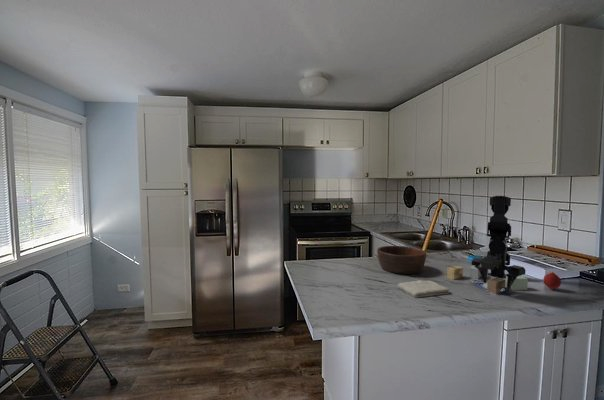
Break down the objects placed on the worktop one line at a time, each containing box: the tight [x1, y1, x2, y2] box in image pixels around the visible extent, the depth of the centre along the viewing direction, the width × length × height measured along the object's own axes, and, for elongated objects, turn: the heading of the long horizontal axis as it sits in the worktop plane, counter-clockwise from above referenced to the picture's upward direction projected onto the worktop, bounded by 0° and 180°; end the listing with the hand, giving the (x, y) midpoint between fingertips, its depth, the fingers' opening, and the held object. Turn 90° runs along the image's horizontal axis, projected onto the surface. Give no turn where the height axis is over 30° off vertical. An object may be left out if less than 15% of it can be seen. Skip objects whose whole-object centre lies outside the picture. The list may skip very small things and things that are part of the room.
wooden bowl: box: [376, 245, 427, 275], centre depth 156 cm, size 25×25×10 cm
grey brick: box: [469, 265, 482, 280], centre depth 142 cm, size 7×4×5 cm, turn 138°
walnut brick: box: [486, 277, 506, 295], centre depth 123 cm, size 7×4×5 cm, turn 118°
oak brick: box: [446, 265, 464, 280], centre depth 141 cm, size 7×4×5 cm, turn 118°
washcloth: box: [397, 279, 450, 299], centre depth 123 cm, size 12×18×3 cm, turn 108°
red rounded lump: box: [542, 271, 562, 291], centre depth 125 cm, size 6×6×8 cm
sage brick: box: [505, 275, 529, 291], centre depth 126 cm, size 7×4×5 cm, turn 93°
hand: (496, 286), depth 123 cm, fingers open, 9 cm apart
